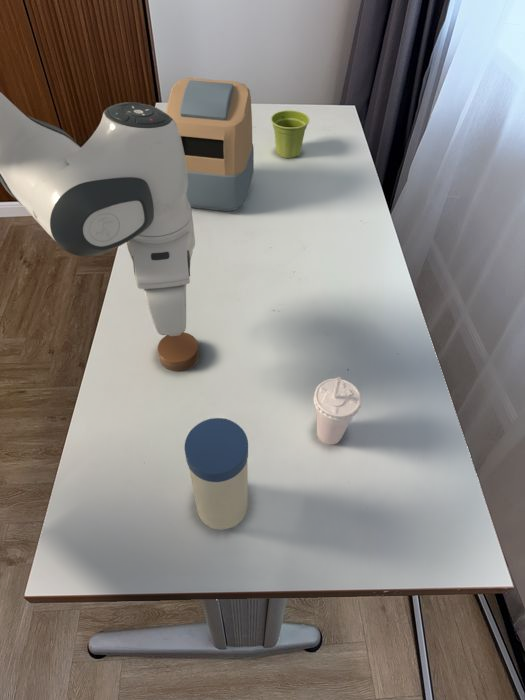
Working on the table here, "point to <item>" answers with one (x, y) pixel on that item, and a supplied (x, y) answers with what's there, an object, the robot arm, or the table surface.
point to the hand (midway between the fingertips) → (173, 309)
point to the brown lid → (178, 352)
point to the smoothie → (335, 408)
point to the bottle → (218, 471)
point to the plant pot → (289, 132)
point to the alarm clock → (214, 140)
